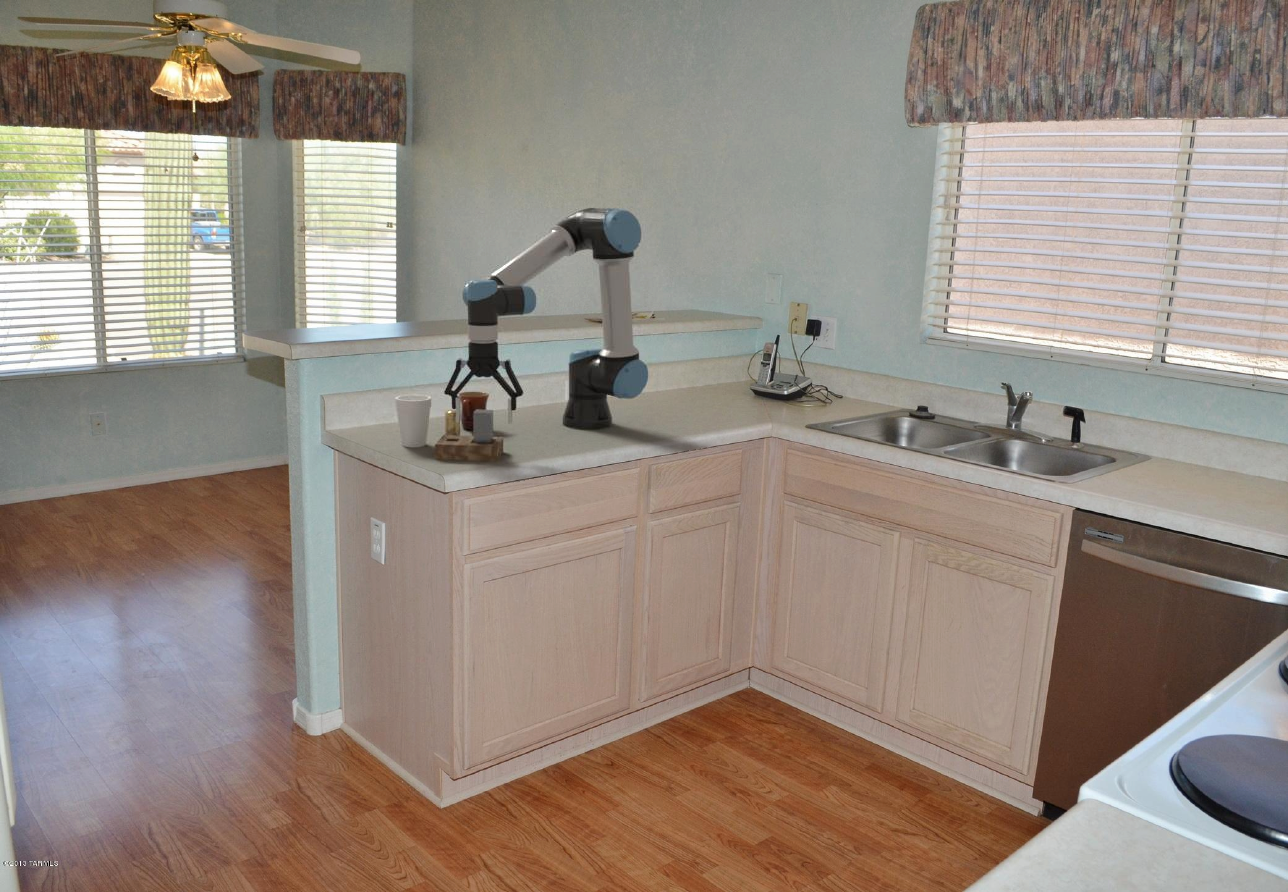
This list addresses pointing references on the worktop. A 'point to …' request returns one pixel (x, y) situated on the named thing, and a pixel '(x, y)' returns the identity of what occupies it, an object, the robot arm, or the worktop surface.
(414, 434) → the foam cup
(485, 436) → the square bit
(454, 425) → the brass dowel
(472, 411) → the mug
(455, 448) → the socket block
